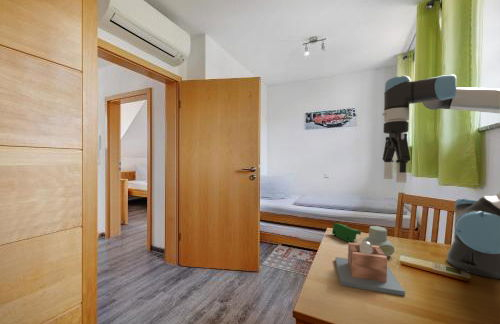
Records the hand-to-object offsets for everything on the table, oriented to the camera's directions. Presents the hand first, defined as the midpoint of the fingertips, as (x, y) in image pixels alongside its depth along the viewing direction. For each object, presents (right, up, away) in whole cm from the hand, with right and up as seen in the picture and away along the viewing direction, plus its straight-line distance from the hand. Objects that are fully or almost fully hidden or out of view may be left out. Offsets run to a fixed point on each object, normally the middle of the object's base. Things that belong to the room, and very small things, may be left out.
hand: (394, 180), depth 80 cm
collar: (-16, -28, -11) cm, 34 cm away
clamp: (-8, -29, +21) cm, 36 cm away
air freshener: (-3, -29, +5) cm, 29 cm away
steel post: (-16, -28, -11) cm, 34 cm away
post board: (-16, -29, -11) cm, 35 cm away
